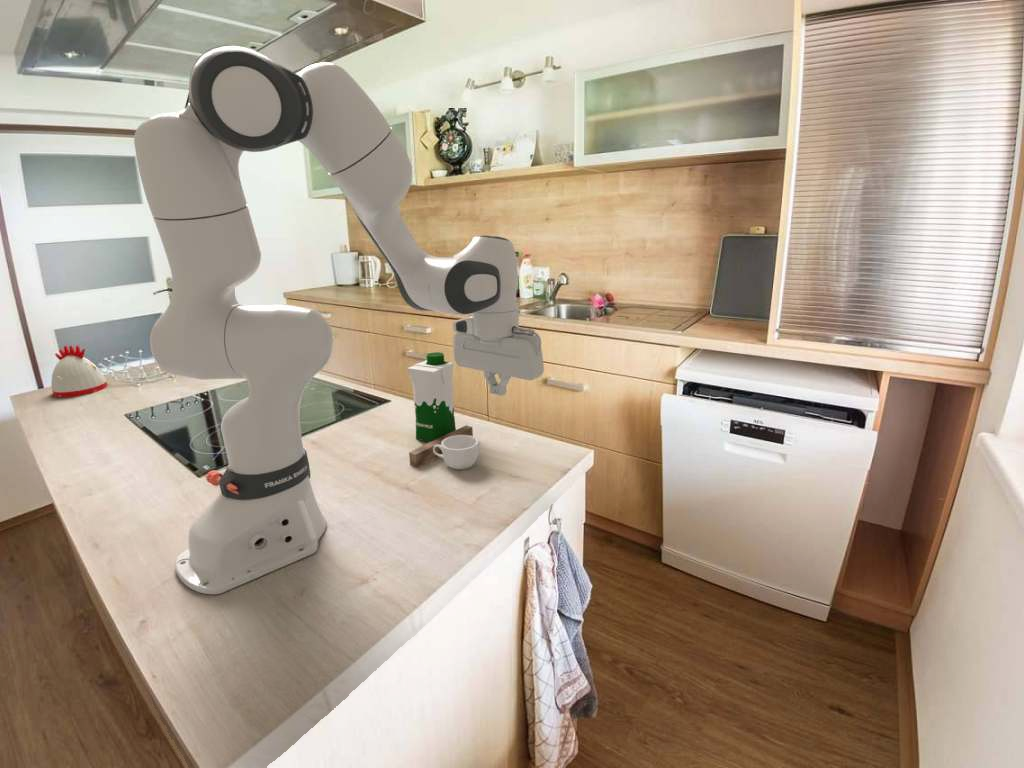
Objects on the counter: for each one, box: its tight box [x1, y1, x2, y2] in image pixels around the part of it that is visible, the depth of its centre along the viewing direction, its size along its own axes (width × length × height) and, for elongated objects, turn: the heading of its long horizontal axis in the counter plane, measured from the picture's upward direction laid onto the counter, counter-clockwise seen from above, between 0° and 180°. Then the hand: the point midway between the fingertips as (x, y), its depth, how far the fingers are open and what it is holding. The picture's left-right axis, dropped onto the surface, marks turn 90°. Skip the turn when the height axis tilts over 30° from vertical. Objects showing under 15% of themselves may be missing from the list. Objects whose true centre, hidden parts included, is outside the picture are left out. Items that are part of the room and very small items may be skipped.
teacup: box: [433, 435, 479, 471], centre depth 110 cm, size 10×8×5 cm
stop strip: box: [408, 424, 474, 468], centre depth 116 cm, size 18×2×3 cm, turn 142°
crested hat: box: [50, 344, 108, 398], centre depth 166 cm, size 14×14×15 cm
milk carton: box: [407, 352, 457, 443], centre depth 122 cm, size 9×9×20 cm
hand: (498, 393), depth 101 cm, fingers closed
